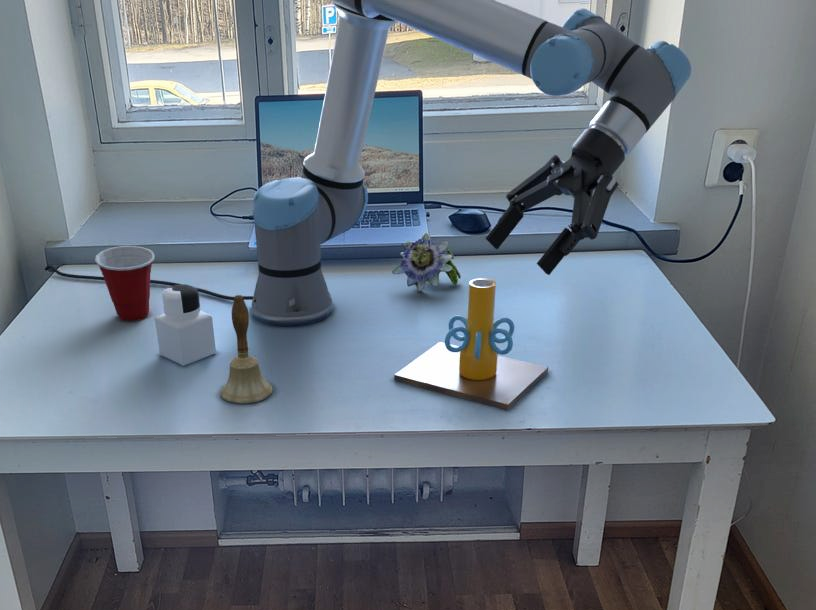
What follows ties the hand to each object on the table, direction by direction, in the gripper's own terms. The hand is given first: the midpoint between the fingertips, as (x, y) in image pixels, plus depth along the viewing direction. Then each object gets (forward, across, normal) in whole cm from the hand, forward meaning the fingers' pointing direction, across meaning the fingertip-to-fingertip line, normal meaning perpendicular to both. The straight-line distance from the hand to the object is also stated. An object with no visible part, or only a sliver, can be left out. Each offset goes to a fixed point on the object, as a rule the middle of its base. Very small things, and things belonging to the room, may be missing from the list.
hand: (515, 256), depth 140 cm
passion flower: (+8, +40, -19) cm, 45 cm away
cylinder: (+17, -1, -8) cm, 19 cm away
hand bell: (+42, +12, +16) cm, 47 cm away
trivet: (+18, 0, -8) cm, 20 cm away
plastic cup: (+48, +53, +21) cm, 75 cm away
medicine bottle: (+45, +31, +18) cm, 58 cm away
